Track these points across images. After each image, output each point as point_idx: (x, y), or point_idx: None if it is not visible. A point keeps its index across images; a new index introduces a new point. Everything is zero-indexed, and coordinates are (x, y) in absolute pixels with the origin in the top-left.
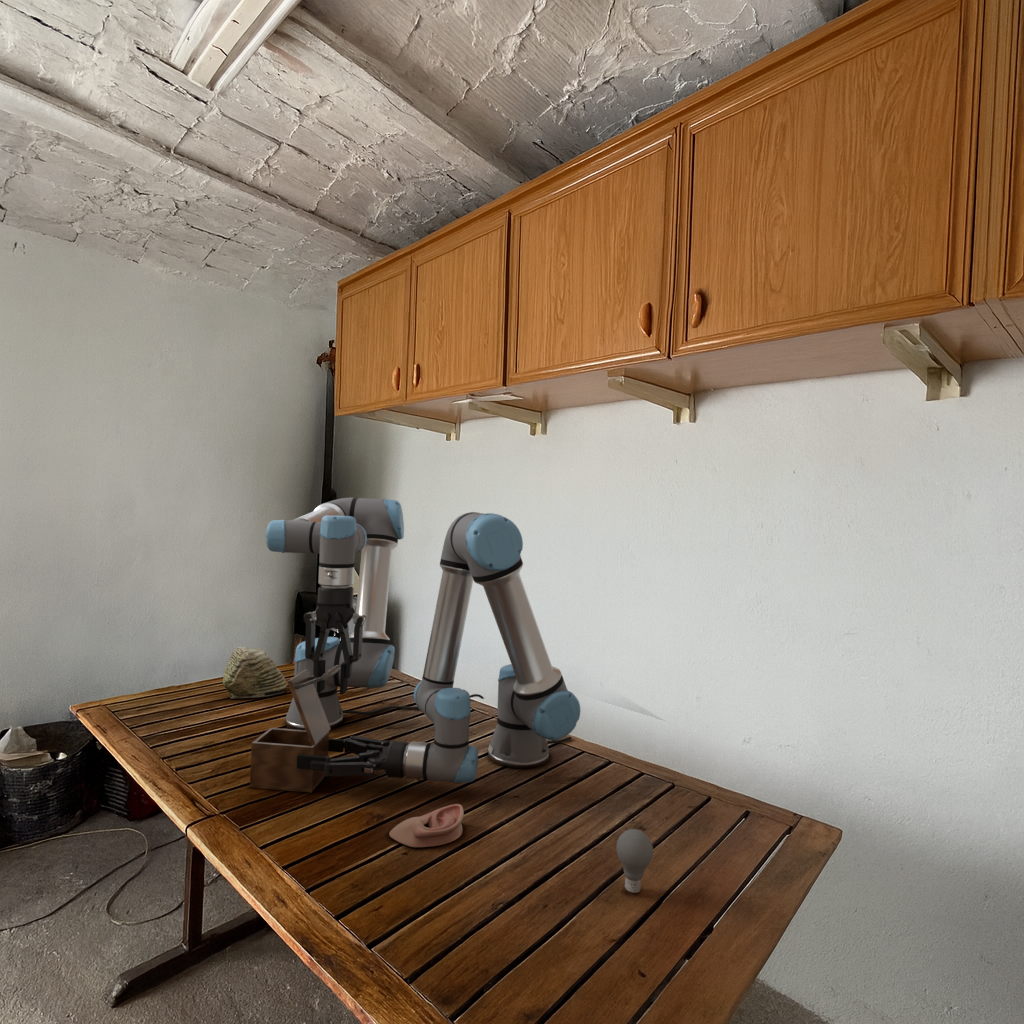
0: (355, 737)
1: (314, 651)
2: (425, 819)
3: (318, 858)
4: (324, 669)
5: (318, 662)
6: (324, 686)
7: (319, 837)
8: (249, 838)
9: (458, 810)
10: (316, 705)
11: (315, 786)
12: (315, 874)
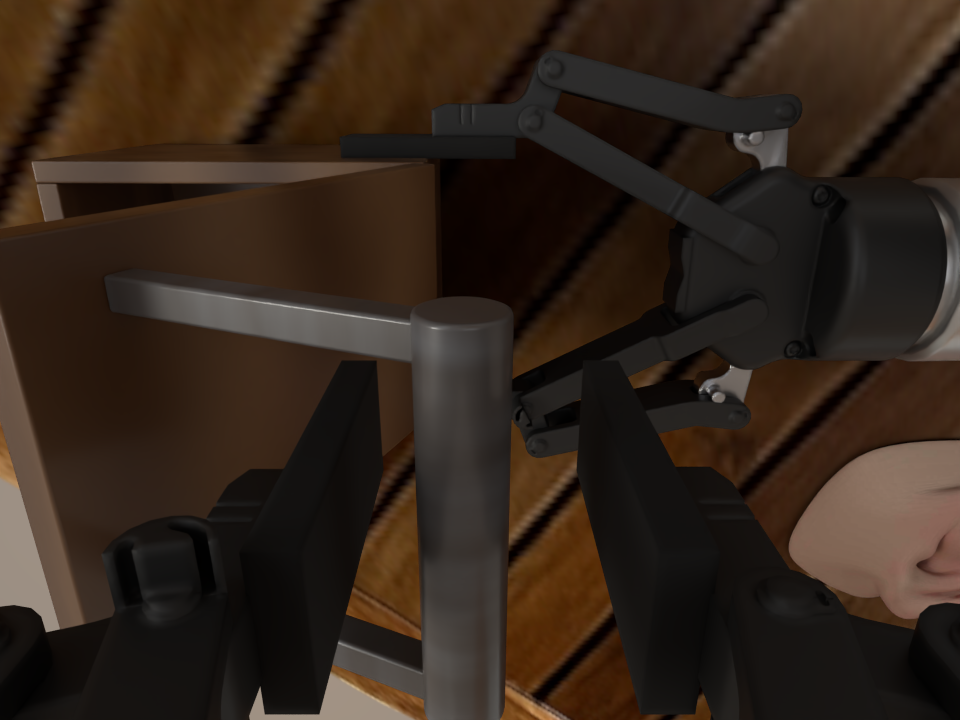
0: (574, 79)
1: (4, 694)
2: (927, 552)
3: (609, 658)
4: (336, 497)
5: (263, 692)
6: (372, 374)
7: (578, 577)
8: (383, 606)
9: None
10: (322, 277)
11: (441, 288)
12: (623, 709)
